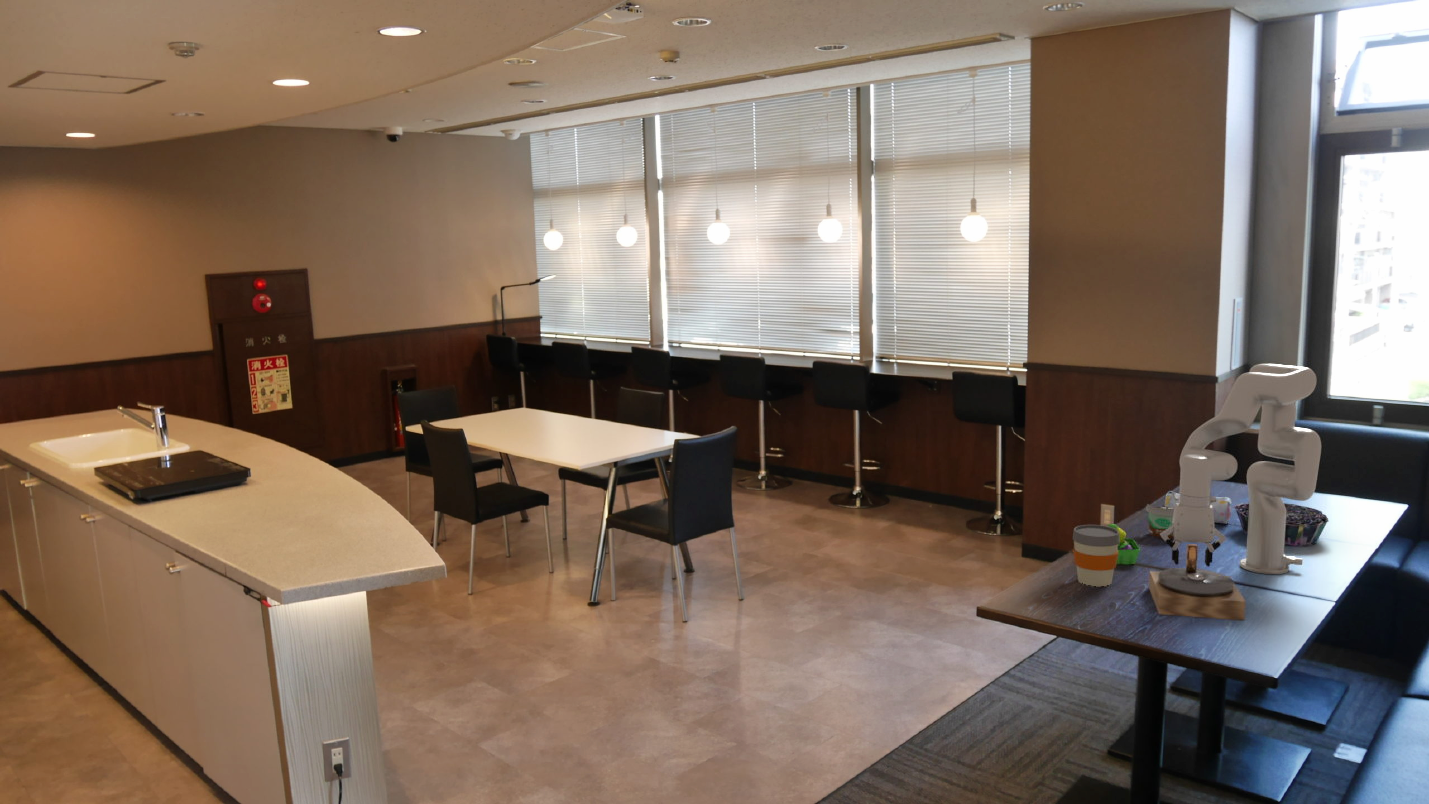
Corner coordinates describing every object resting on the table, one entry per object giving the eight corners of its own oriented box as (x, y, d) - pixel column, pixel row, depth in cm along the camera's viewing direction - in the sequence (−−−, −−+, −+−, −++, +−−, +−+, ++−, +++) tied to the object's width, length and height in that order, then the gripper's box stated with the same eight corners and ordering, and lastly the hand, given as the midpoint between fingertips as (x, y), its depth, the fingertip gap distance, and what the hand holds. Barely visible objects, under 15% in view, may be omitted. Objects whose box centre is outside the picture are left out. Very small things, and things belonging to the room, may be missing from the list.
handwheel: (1226, 575, 268) (1227, 545, 267) (1240, 598, 251) (1242, 566, 250) (1154, 571, 274) (1155, 541, 272) (1163, 593, 257) (1164, 561, 255)
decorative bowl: (1302, 530, 331) (1303, 501, 330) (1346, 549, 303) (1347, 517, 303) (1222, 530, 333) (1223, 501, 332) (1259, 549, 306) (1259, 517, 305)
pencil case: (1161, 519, 342) (1162, 492, 341) (1167, 513, 349) (1168, 487, 348) (1228, 528, 330) (1229, 500, 328) (1233, 521, 337) (1234, 494, 335)
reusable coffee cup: (1113, 591, 274) (1115, 539, 272) (1066, 584, 281) (1068, 533, 278) (1122, 578, 285) (1123, 527, 282) (1076, 571, 291) (1078, 522, 289)
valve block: (1228, 593, 270) (1229, 575, 269) (1244, 620, 251) (1245, 601, 250) (1149, 588, 276) (1149, 571, 275) (1158, 614, 257) (1159, 595, 256)
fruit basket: (1140, 566, 294) (1141, 529, 293) (1108, 565, 296) (1110, 528, 294) (1132, 554, 305) (1133, 519, 304) (1102, 553, 307) (1103, 518, 305)
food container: (1145, 538, 321) (1146, 508, 320) (1144, 533, 327) (1145, 503, 325) (1187, 541, 316) (1188, 511, 315) (1185, 536, 322) (1187, 506, 321)
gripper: (1227, 498, 267) (1224, 561, 270) (1157, 495, 272) (1155, 557, 275) (1233, 505, 260) (1229, 570, 263) (1161, 502, 265) (1158, 566, 268)
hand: (1191, 563), depth 269 cm, fingers open, 7 cm apart
